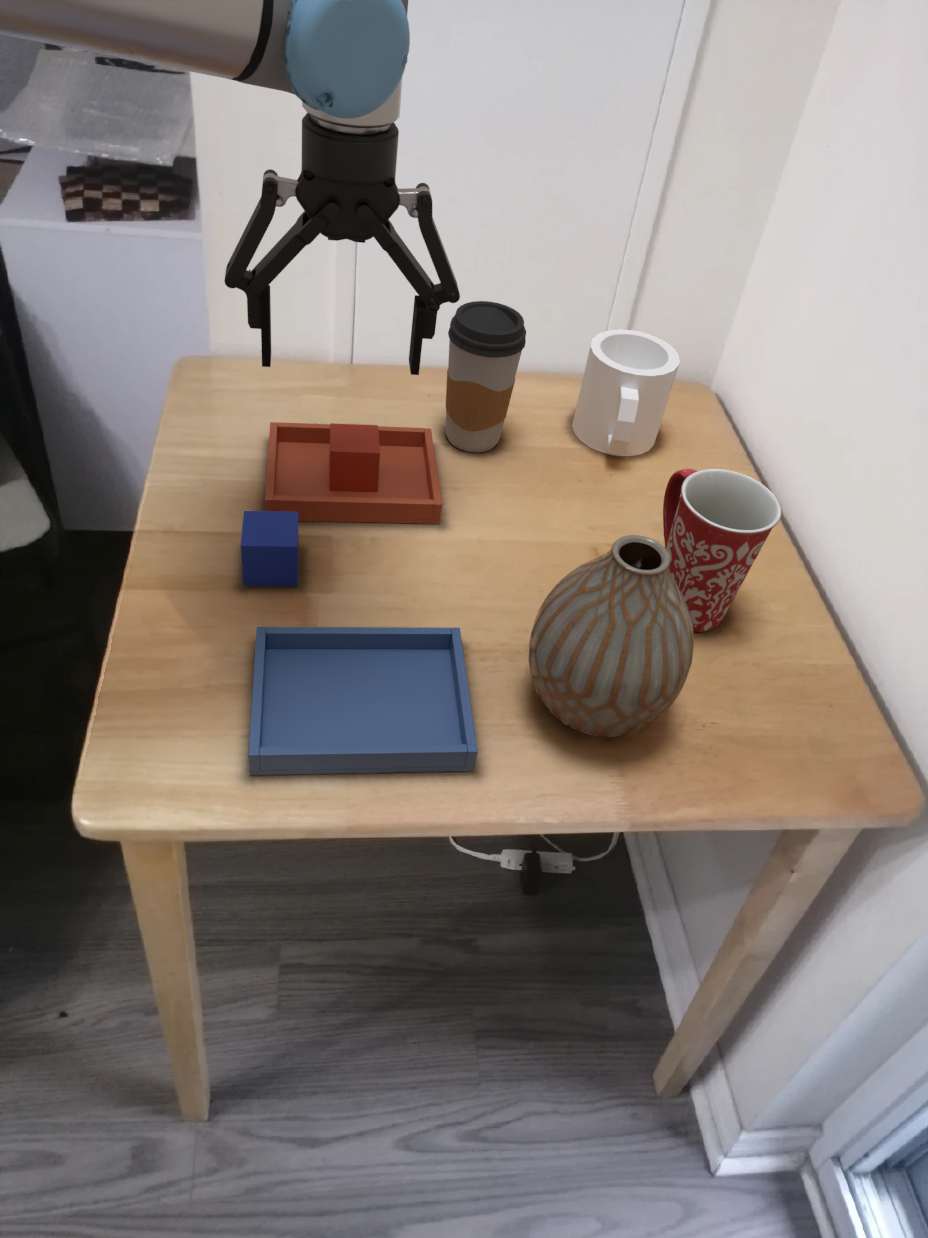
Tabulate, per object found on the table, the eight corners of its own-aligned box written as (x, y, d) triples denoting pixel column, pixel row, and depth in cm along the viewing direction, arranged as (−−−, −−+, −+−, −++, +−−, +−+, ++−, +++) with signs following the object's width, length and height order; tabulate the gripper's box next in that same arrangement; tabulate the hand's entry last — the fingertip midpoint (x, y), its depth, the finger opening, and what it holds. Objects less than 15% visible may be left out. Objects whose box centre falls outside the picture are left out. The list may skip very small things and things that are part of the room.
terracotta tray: (265, 520, 94) (265, 499, 92) (270, 441, 103) (270, 421, 102) (439, 524, 97) (442, 504, 95) (429, 447, 106) (431, 428, 104)
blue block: (243, 586, 87) (240, 545, 84) (246, 550, 90) (243, 510, 87) (297, 586, 88) (297, 546, 84) (298, 551, 91) (298, 511, 88)
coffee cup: (514, 428, 111) (536, 309, 101) (497, 466, 105) (519, 344, 95) (447, 410, 112) (462, 291, 102) (427, 447, 106) (440, 325, 96)
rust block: (329, 490, 98) (330, 451, 94) (329, 462, 101) (330, 422, 98) (377, 492, 98) (380, 452, 95) (375, 463, 102) (378, 424, 98)
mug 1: (659, 478, 107) (686, 397, 100) (571, 465, 107) (591, 383, 100) (652, 414, 117) (676, 336, 109) (572, 402, 117) (590, 323, 109)
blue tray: (249, 775, 72) (248, 755, 71) (257, 647, 82) (256, 626, 80) (473, 771, 75) (478, 751, 73) (456, 647, 85) (459, 627, 83)
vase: (662, 661, 87) (720, 513, 74) (669, 776, 77) (737, 628, 65) (522, 639, 86) (557, 486, 74) (512, 752, 77) (550, 599, 65)
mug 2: (750, 633, 91) (802, 525, 81) (667, 646, 88) (711, 536, 79) (690, 548, 99) (731, 441, 89) (613, 558, 96) (646, 449, 87)
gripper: (179, 117, 68) (199, 377, 83) (515, 149, 72) (477, 391, 87) (188, 85, 73) (206, 335, 88) (501, 117, 77) (468, 350, 92)
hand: (341, 363), depth 87 cm, fingers open, 13 cm apart
